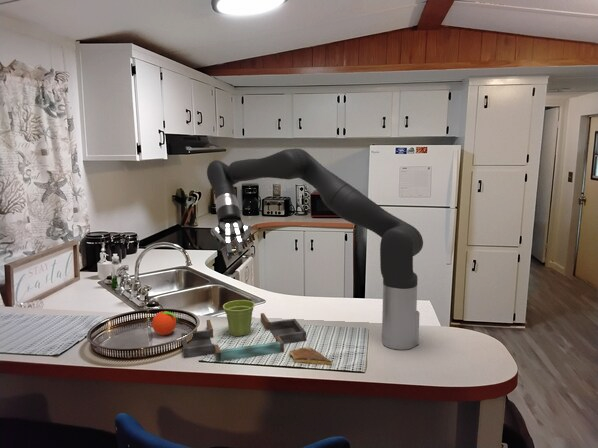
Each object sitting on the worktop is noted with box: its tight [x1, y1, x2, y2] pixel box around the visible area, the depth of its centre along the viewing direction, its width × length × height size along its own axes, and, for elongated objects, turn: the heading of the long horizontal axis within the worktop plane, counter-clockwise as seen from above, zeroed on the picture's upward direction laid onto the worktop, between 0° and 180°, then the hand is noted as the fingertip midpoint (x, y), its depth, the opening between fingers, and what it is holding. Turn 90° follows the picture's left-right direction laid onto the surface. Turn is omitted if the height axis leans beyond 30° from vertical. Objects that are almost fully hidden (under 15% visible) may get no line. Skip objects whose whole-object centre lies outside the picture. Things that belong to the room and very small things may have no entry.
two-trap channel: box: [180, 312, 307, 362], centre depth 133 cm, size 34×24×2 cm
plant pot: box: [222, 299, 256, 337], centre depth 137 cm, size 9×9×9 cm
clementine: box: [151, 310, 179, 336], centre depth 137 cm, size 8×7×7 cm
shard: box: [288, 347, 333, 366], centre depth 119 cm, size 11×8×2 cm
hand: (235, 254), depth 143 cm, fingers closed
